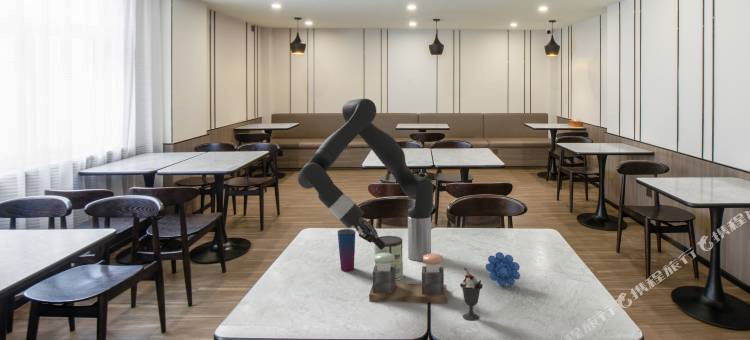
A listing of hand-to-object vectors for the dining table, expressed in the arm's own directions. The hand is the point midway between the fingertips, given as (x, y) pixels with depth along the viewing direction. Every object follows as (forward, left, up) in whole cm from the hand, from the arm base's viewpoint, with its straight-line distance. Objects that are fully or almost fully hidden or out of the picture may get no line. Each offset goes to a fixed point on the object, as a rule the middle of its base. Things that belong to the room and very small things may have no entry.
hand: (383, 247), depth 173 cm
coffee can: (-16, -6, -17) cm, 24 cm away
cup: (-17, -24, -17) cm, 34 cm away
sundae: (+5, +31, -17) cm, 35 cm away
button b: (-5, +15, -10) cm, 19 cm away
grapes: (-23, +34, -17) cm, 44 cm away
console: (-3, +8, -16) cm, 18 cm away
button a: (0, 0, -10) cm, 10 cm away
